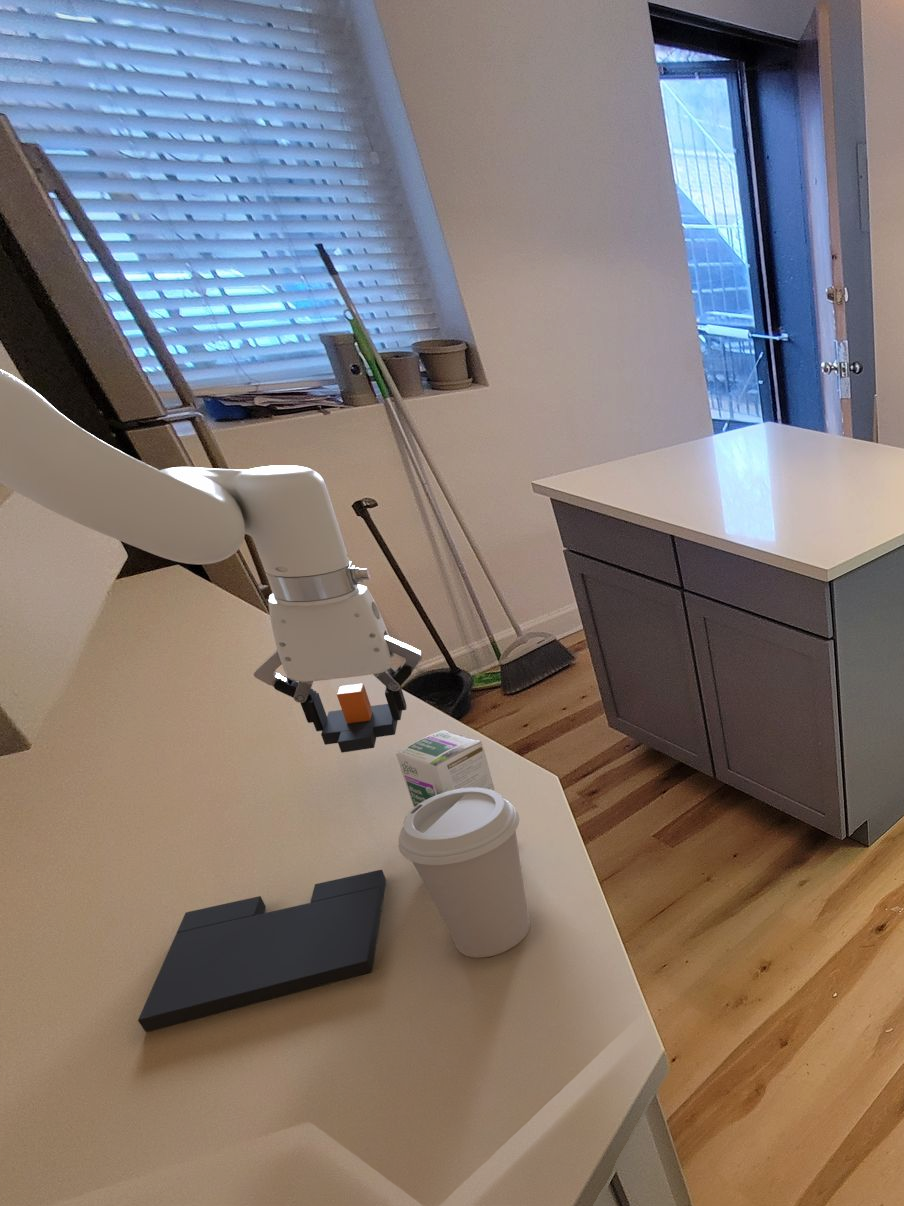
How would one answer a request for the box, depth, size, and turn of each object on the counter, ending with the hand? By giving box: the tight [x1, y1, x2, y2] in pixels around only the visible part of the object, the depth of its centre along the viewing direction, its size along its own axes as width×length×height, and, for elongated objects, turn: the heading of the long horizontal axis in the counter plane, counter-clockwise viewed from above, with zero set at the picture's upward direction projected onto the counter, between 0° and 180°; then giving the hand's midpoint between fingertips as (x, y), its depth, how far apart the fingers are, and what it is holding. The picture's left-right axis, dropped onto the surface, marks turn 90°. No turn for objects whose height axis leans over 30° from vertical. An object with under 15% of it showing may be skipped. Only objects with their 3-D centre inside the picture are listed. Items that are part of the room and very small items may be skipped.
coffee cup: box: [398, 788, 531, 959], centre depth 75 cm, size 10×10×15 cm
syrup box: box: [395, 729, 496, 808], centre depth 84 cm, size 6×6×14 cm
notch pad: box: [137, 869, 387, 1033], centre depth 75 cm, size 16×14×2 cm
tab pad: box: [320, 682, 399, 753], centre depth 94 cm, size 7×9×6 cm
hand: (360, 719), depth 96 cm, fingers closed on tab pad, 7 cm apart
